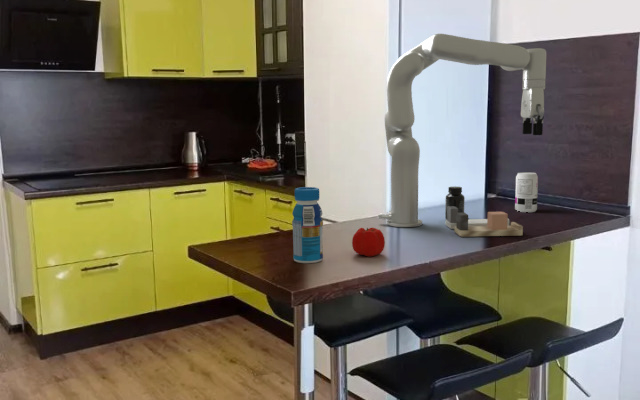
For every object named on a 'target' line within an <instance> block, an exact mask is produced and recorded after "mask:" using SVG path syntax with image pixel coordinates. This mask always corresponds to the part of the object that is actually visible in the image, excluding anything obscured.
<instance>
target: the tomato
mask: <svg viewBox="0 0 640 400" xmlns="http://www.w3.org/2000/svg"><path fill="white" fill-rule="evenodd" d="M351 243H352V244H351V247H352V250H353V251H354V252H355V253H356V254H357V255H361V256H366V257H369V258H370V257H375V256H378V255H380V254H382V253H383V251H384V249H385V244H386V241H385V236H384V233H383V232H382V230H380V229H378V228H376V227H369V228H368V227H366V229H365V227H359V229H358V230H356V231H355V233H354V234H353V236H352V240H351Z"/></svg>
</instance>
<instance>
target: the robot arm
mask: <svg viewBox="0 0 640 400" xmlns="http://www.w3.org/2000/svg"><path fill="white" fill-rule="evenodd" d="M439 60H444V61H448V62H452V63H453V62H454V63H460V64H466V65H470V66H471V65H472V66H481V65H487V66H488V65H489V66H490V65H491V66H498V67H500V68H501V69H503V70H505V71H508V72H514V71H519V70H522V94H521V95H522V96H521V103H520V104H521V105H520V106H521V107H520V117H521V118H522V131H521V133H522V135H531V134H532V136H542V135H543V132H544V131H543V130H544V129H543V128H544V126H543V125H544V119H545V118H544V117H545V116H544V114H545V92H544V91H545V89H546V74H547V71H546V70H547V50H546V49H545V48H540V47H538V48H537V47H536V48H525V47H523V46H520V45H515V44H510V43H504V42H503V43H502V42H498V41H497V42H496V41H489V40H482V39H474V38H469V37H463V36H457V35H453V34H446V33H436V34H433V35H432V36H429V37H428V38H426V39H425V40H424V41H422V42H421V43H420V44H418V45H417V46H415V47H414V48H411V49H410V50H409V51H407V52H405V53H404V54H402V55H401V56H400V57H399V58H398V59H397V60H396V61H395V63H394V64H393V65H392V67H391V69H390V71H389V73H388V76H387V80H386V96H387V97H386V98H387V99H386V100H387V110H386V112H385V114H384V128H385V129H384V130H385V138H386V146H387V151H388V153H389V155H390V157H391V167H390V184H391V185H390V187H391V188H390V197H391V199H390V210H388V212H386V213H377V219H378V220H386V225H387V226H390V227H394V228H395V227H396V228H414V227H420V226H422V225H423V220H421V219H419V165H420V157H421V155H420V154H421V149H420V146H419V142H418V141H417V139H416V138H414V137H413V131H412V127H413V125H414V123H415V112H414V105H413V97H412V95H413V92H412V85H413V82H414V79H415V78H416V77H417V76H419V75H420V74H421V73H422V72H423V71H424V70H426V69H427V68H429V67H430V66H432V65H433V64H435V63H436V62H437V61H439ZM532 120H533V122H532Z"/></svg>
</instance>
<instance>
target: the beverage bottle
mask: <svg viewBox="0 0 640 400" xmlns="http://www.w3.org/2000/svg"><path fill="white" fill-rule="evenodd" d="M294 200H295V202H296V203H295V206H294V207H293V209H292V216H293V219H292V222H291V223H292V224H291V226H292V240H293V241H292V244H293V245H292V246H293V250H292V251H293V254H292V255H293V261H294V262H296V263H300V264H315V263H316V264H317V263H320V262H322V261H323V259H324V254H323V252H324V251H323V250H324V249H323V247H324V246H323V238H324V237H323V226H324V220H323V219H322V218H323V217H322V215H323V210H322V208H321V206H320V204H319V201H320V189H319V188H318V187H314V186H312V187H311V186H303V187H297V188H296V187H295V188H294Z"/></svg>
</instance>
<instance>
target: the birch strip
mask: <svg viewBox="0 0 640 400" xmlns="http://www.w3.org/2000/svg"><path fill="white" fill-rule="evenodd" d="M468 219H469V214H467V213H466V212H465V211H464V212H462V213H457V223H456V227H455V229H453V230H454V231H453V232H454V233H456V235H458V236H459V237H463V238H464V237H465V238H467V237H500V236H501V237H505V236H506V237H509V236H510V237H511V236H514V237H515V236H523V232H524V229H523V228H524V226H523V225H522V224H520V223H518V222H516V221H510V225H509V226H507V230H491V229H490V228H488V227H487V226H468Z"/></svg>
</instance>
